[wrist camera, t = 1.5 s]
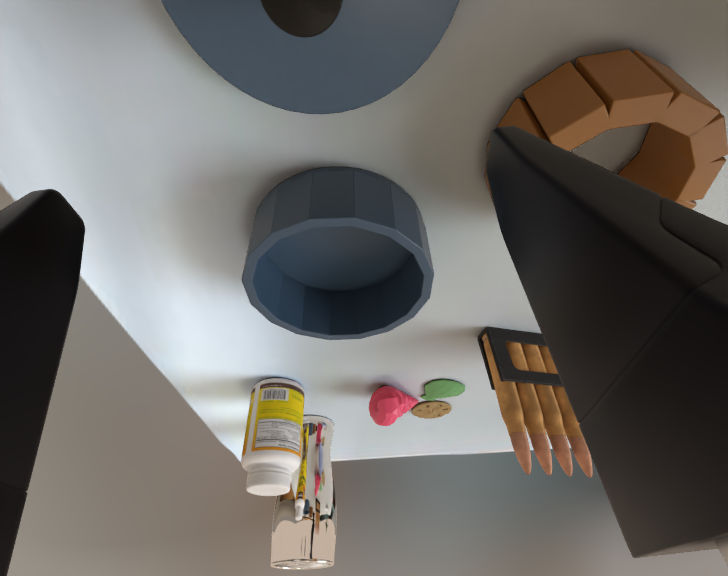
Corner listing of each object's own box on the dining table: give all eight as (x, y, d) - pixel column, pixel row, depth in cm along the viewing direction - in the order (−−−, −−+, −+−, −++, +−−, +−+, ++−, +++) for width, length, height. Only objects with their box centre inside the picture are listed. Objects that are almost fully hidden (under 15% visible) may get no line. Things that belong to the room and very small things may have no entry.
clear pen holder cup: (345, 417, 51) (345, 562, 41) (328, 436, 56) (324, 569, 46) (290, 410, 49) (276, 561, 39) (277, 431, 54) (262, 569, 44)
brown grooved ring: (571, 15, 18) (611, 55, 15) (723, 95, 21) (778, 140, 18) (453, 190, 25) (466, 238, 22) (579, 231, 28) (604, 278, 25)
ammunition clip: (476, 338, 38) (510, 477, 30) (486, 326, 36) (523, 470, 29) (576, 350, 40) (631, 483, 32) (589, 340, 39) (649, 476, 31)
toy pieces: (345, 409, 49) (345, 447, 46) (387, 367, 41) (390, 409, 39) (432, 422, 53) (437, 457, 50) (484, 385, 45) (493, 425, 43)
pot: (273, 140, 22) (263, 191, 19) (455, 198, 25) (469, 250, 22) (241, 272, 30) (230, 322, 27) (382, 303, 33) (386, 350, 30)
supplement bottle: (277, 402, 47) (266, 501, 41) (241, 385, 44) (223, 490, 37) (315, 390, 45) (310, 491, 38) (281, 370, 41) (269, 479, 35)
